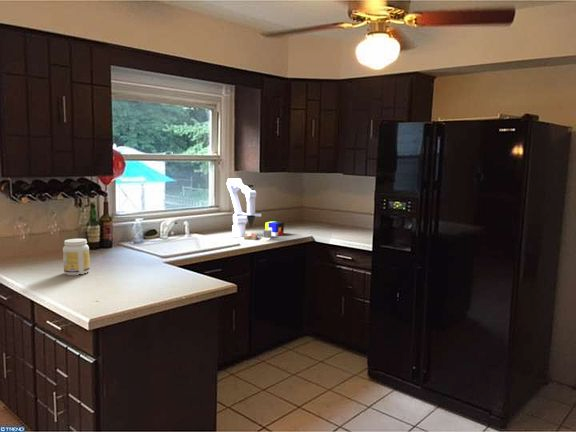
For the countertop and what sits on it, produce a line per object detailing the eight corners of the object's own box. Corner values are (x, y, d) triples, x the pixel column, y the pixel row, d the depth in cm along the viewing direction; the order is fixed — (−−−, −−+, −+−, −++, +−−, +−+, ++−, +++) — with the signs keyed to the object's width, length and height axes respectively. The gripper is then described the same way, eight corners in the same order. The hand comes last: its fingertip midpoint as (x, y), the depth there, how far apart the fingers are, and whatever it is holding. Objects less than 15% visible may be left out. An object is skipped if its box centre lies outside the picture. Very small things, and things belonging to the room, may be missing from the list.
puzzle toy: (275, 237, 350) (275, 223, 349) (265, 235, 356) (265, 222, 355) (283, 235, 358) (283, 222, 357) (273, 233, 364) (273, 221, 363)
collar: (244, 240, 335) (244, 235, 335) (246, 238, 343) (246, 234, 343) (255, 240, 334) (255, 236, 334) (257, 238, 342) (257, 234, 341)
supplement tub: (83, 268, 247) (81, 237, 245) (94, 272, 239) (93, 240, 237) (59, 273, 238) (57, 240, 236) (70, 277, 230) (68, 243, 228)
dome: (246, 239, 336) (246, 233, 336) (248, 238, 341) (248, 232, 341) (253, 239, 336) (253, 233, 335) (255, 238, 341) (255, 232, 340)
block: (263, 237, 343) (263, 230, 342) (264, 236, 348) (264, 229, 347) (270, 237, 342) (270, 231, 341) (271, 236, 347) (271, 229, 346)
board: (257, 241, 329) (257, 240, 329) (263, 237, 349) (263, 236, 349) (268, 242, 328) (268, 241, 328) (273, 237, 348) (273, 236, 348)
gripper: (239, 207, 333) (239, 226, 334) (259, 208, 331) (259, 227, 332) (242, 206, 340) (242, 225, 341) (261, 207, 338) (261, 225, 339)
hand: (251, 226), depth 337 cm, fingers closed
